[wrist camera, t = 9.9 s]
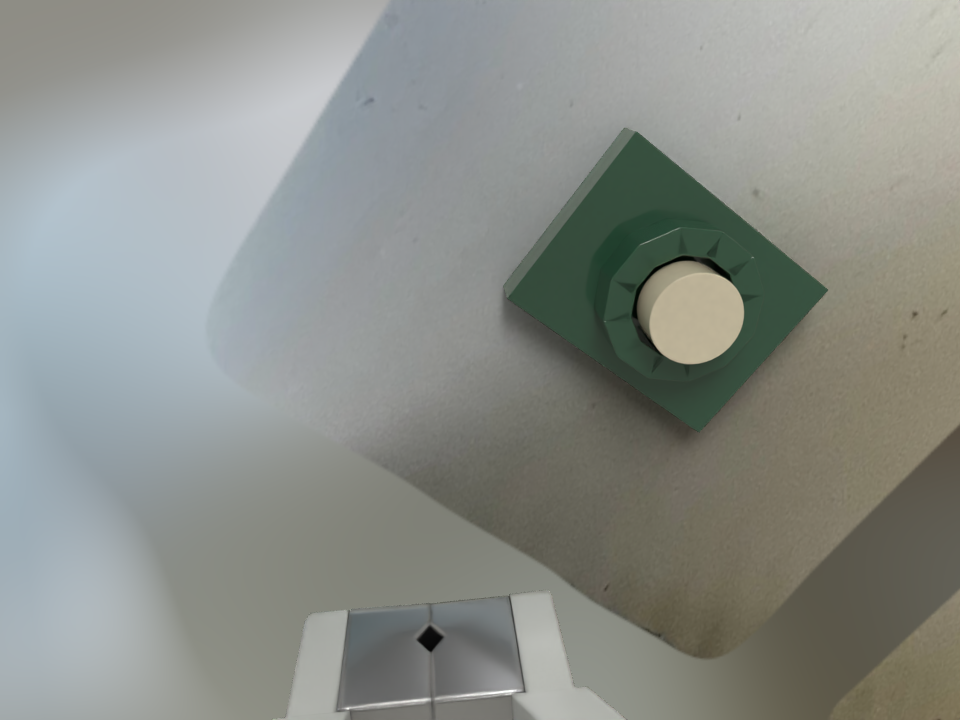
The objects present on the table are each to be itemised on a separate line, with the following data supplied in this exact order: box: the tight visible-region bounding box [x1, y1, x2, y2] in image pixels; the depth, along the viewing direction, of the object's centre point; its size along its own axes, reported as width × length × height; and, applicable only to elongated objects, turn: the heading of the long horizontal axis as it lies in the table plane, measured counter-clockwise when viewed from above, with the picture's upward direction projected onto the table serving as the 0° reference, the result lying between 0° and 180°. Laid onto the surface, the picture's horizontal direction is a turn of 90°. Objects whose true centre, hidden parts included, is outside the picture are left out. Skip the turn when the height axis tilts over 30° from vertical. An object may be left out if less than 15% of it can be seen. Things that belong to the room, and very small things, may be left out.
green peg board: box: [503, 128, 828, 432], centre depth 35 cm, size 12×9×4 cm
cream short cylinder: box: [637, 261, 744, 364], centre depth 32 cm, size 4×4×2 cm
